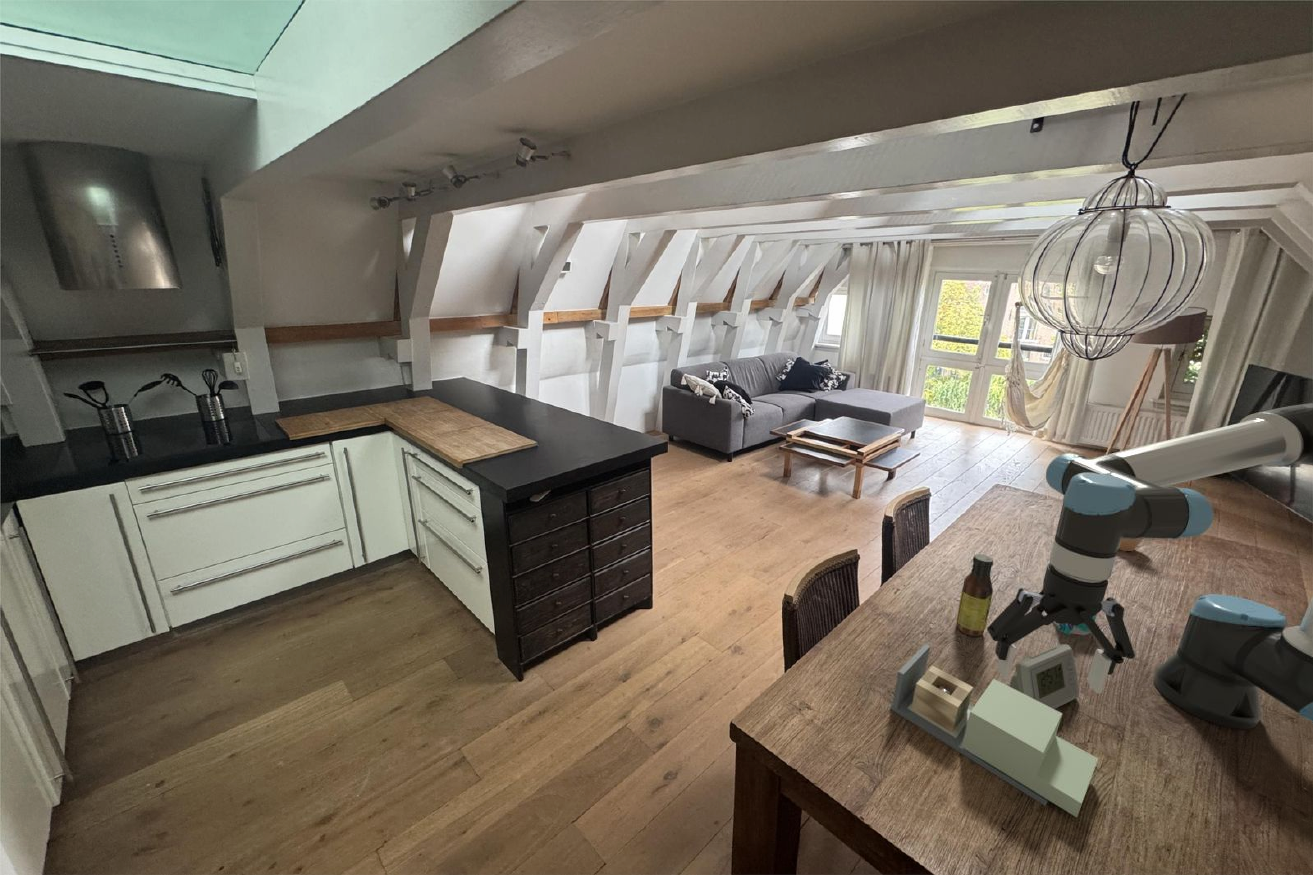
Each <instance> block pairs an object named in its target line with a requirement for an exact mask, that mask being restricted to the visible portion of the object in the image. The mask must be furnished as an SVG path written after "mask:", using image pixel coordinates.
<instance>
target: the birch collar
mask: <svg viewBox="0 0 1313 875" xmlns="http://www.w3.org/2000/svg"><path fill="white" fill-rule="evenodd" d="M941 686H943V687H946V688H948V689H949V690H950V691H951V693H950V695H949V694H947V693H946V692H944V691H942V690H940V689H939V687H941ZM973 690H974V686H971V685H970V684H969V683H966V682H964V681H962V680H961V679H958V678H957V677H955V676H954V675H951V674H949V673H947V672H945V671H943V670H942V669H940V668H938V667H936V666H934V665H931V667H930V668H929V669H928V670H927V671H925V674H924V676H923V677H922V678H921V679H920V680H919V681H918V682H917V683H916V687H915V692H914V698H913V703H912V709H914V710H916V711H917V712H919V713H921V714H922V715H924V716H926V717H927V718H929V719H931V720H932V721H934V722H935V723H937V724H939V725H940V726H942V727H944V728H945V729H947V730H949V731H950V732H953V731H954V730H955V728H956V727H957V725H958V724H959V723H960V721H961V720H962V718H963V717H964V716H965V714H966V713H967V711H968V707H969V704H970V701H971V698H972V693H973Z"/></svg>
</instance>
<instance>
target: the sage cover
mask: <svg viewBox="0 0 1313 875" xmlns="http://www.w3.org/2000/svg"><path fill="white" fill-rule="evenodd" d="M1062 716H1063V713H1062V712H1060V711H1059V710H1057V709H1052V708H1050V707H1049V706H1047V705H1045V704H1043V703H1041V702H1039V701H1037V700H1035V699H1033V698H1031V697H1029V696H1027V695H1025V694H1023V693H1021V692H1019V691H1017V690H1015V689H1013V688H1011V687H1010V685H1007V684H1005V683H1003V682H1001V681H999V680H997V679H995V678H992V680H991V681H990V683H989V684H988V686H986V689H985V690H984V692H983V693H982V694H981V696H980V697H979V699H978V700H977V701H976V702H975V705H974V706H973V708H972V710H971V711H970V715H969V719H968V723H967V727H966V731H965V735H964V740H963V744H962V747H963V748H965V749H967V750H968V751H970V752H972V753H973V754H975V755H976V756H978V757H980V758H981V759H983V760H984V761H986V762H988V763H989V764H991V765H993V766H994V767H996V768H997V769H999V770H1001V771H1002V772H1004V773H1006V774H1007V775H1009V776H1010V777H1012V778H1014V779H1015V780H1017V781H1019V782H1020V783H1022V784H1023V785H1025V786H1027V787H1028V788H1030V789H1031V790H1033V791H1035V792H1036V793H1038V794H1040V795H1041V796H1043V797H1044V798H1046V799H1048V802H1051V803H1053V804H1054V805H1056V806H1057V807H1059V808H1060V809H1063V810H1064V811H1065V812H1067V813H1069V814H1071V815H1072V816H1074V817H1075V818H1078V815H1079V813H1080V810H1081V807H1082V805H1083V803H1084V799H1085V796H1086V794H1087V791H1088V788H1089V786H1090V783H1091V780H1092V777H1093V774H1094V773H1095V769H1096V766H1097V763H1098V760H1099V758H1098V757H1097V756H1094V755H1093V754H1091V753H1089V752H1087V751H1086V750H1083V749H1081V748H1079V747H1077V746H1076V745H1075V744H1072V743H1071V742H1069V741H1067V740H1065V739H1063V738H1061V737H1059V736H1057V733H1058V729H1059V726H1060V723H1061V720H1062Z"/></svg>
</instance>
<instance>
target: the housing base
mask: <svg viewBox="0 0 1313 875" xmlns="http://www.w3.org/2000/svg"><path fill="white" fill-rule="evenodd" d="M930 649H931V645H928V644H927V643H925V644H923V645H922V647H921V648H919V650H917V651H916V652H915V654H913V656H912V657H911V658H910V659H909V660H908V661H907V662H906V663H905V664H904V665H903V666H902V667H901V668H900V669H899V670H898V671H897V677H896V683H895V688H894V694H893V699H892V703H891V705H890V710H891V711H893V712H894V713H896V714H898V715H899V716H900V717H903V718H904V719H905V720H907V721H909V722H911V723H912V724H914V725H915V726H917V727H919V728H920V729H921V730H923V731H924V732H926V733H927V734H928V733H929V735H931V736H933V737H935V738H936V739H937V740H939V741H941V742H942V743H944V744H945V745H947V746H948V747H949V748H952V749H953V750H955V751H957V753H960V754H962V756H965V757H966V758H968V759H970V760H971V761H972V762H974V763H976V764H977V765H979V766H981V767H982V768H984V769H986V770H987V771H989V772H990V773H992V774H994V775H996V776H997V778H1000V779H1001V780H1003V781H1004V782H1006V783H1008V784H1010V785H1011V786H1012V787H1014V788H1016V789H1018V790H1019V791H1020V792H1022V793H1024V794H1025V795H1027V796H1028V797H1030V798H1032V799H1033V800H1035V801H1037V802H1038V803H1039V804H1042V805H1043V806H1044V807H1047V806H1048V805H1047V804H1048V802H1049V800H1048V799H1046V798H1044V797H1043V796H1041V795H1040V794H1038V793H1036V792H1035V791H1033V790H1031V789H1030V788H1028V787H1027V786H1025V785H1023V784H1022V783H1020V782H1019V781H1017V780H1015V779H1014V778H1012V777H1010V776H1009V775H1007V774H1006V773H1004V772H1002V771H1001V770H999V769H997V768H996V767H994V766H993V765H991V764H989V763H988V762H986V761H984V760H983V759H981V758H980V757H978V756H976V755H975V754H973V753H972V752H970V751H968V750H967V749H965V748H963V747H962V744H963V740H964V735H965V731H966V727H967V723H968V719H969V715H970V711H971V710H972V708H973V707H974V706H973V705H971V704H970V703H969V707H968V711H967V713H966V714H965V716H964V717H963V718H962V720H961V721H960V723H959V724H958V725H957V727H956V728H955V730H954V731H953V732H950V731H949V730H947V729H945V728H944V727H942V726H940V725H939V724H937V723H935V722H934V721H932V720H931V719H929V718H927V717H926V716H924V715H922V714H921V713H919V712H917V711H916V710H914V709H912V703H913V698H914V692H915V687H916V683H917V682H918V681H919V680H920V679H921V678H922V677H923V676H924V674H925V673H926V669H927V665H928V659H929V654H930Z"/></svg>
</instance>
